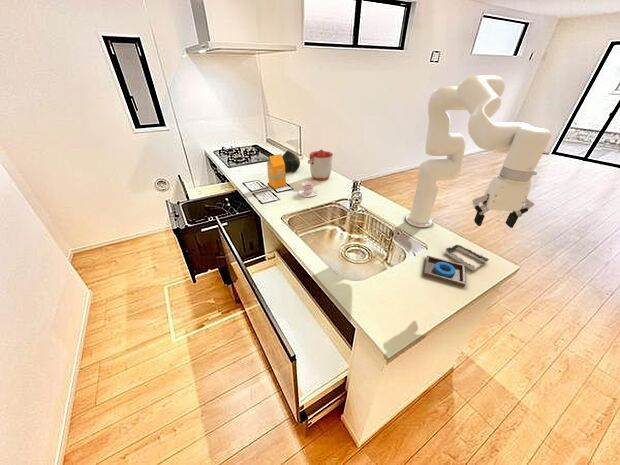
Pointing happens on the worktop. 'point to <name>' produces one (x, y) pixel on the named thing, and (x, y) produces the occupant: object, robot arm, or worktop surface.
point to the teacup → (307, 190)
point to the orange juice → (276, 171)
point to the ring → (447, 266)
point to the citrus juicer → (320, 164)
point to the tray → (459, 270)
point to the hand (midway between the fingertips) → (492, 224)
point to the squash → (291, 161)
